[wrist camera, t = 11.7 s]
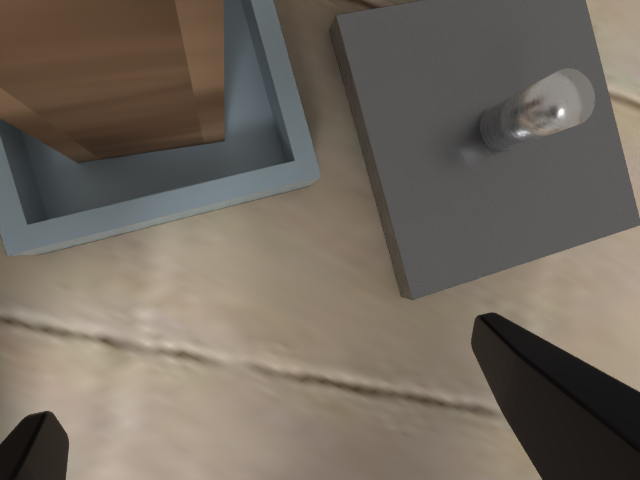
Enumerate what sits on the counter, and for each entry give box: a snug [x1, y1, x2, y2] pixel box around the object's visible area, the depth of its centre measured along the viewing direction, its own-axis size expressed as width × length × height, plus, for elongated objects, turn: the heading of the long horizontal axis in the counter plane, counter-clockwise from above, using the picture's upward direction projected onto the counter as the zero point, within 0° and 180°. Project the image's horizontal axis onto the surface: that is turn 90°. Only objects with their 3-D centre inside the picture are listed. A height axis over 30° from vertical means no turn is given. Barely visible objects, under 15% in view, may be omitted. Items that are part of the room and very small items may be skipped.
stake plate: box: [330, 0, 640, 300], centre depth 18 cm, size 12×12×5 cm
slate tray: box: [0, 0, 322, 256], centre depth 16 cm, size 11×11×2 cm
